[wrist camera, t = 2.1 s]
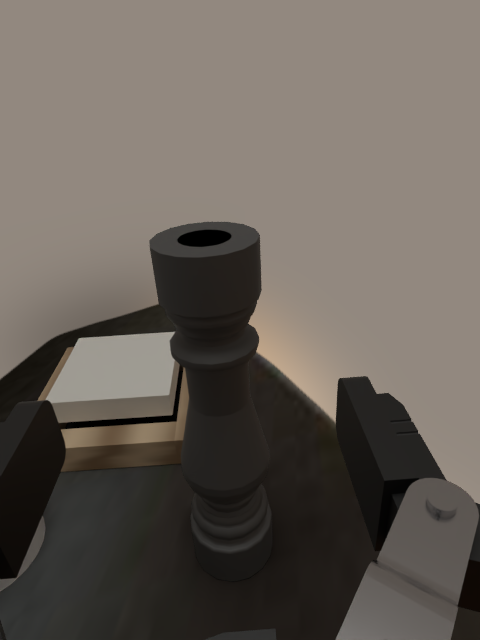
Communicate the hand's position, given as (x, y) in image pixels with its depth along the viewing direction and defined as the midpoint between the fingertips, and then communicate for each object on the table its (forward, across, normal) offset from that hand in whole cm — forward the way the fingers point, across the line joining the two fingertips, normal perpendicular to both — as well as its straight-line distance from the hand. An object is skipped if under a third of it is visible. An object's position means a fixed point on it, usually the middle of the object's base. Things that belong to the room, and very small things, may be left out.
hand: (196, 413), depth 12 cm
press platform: (+30, +12, +20) cm, 38 cm away
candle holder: (+12, 0, +24) cm, 27 cm away
